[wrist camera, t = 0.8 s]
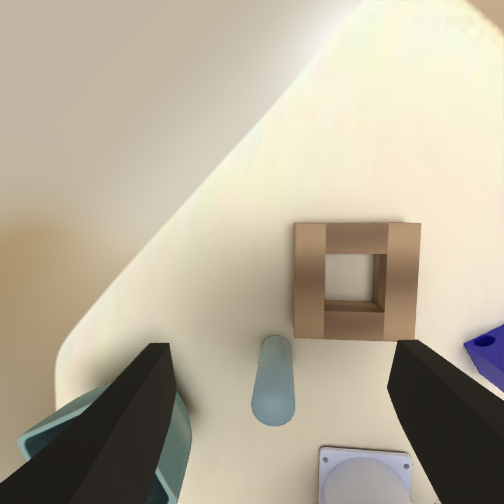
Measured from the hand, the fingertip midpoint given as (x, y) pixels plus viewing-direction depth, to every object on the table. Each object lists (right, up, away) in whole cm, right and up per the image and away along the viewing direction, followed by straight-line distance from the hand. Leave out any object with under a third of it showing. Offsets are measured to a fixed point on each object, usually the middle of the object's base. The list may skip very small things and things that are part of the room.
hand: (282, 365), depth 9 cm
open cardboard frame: (+7, +2, +16) cm, 17 cm away
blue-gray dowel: (+1, -5, +17) cm, 18 cm away
